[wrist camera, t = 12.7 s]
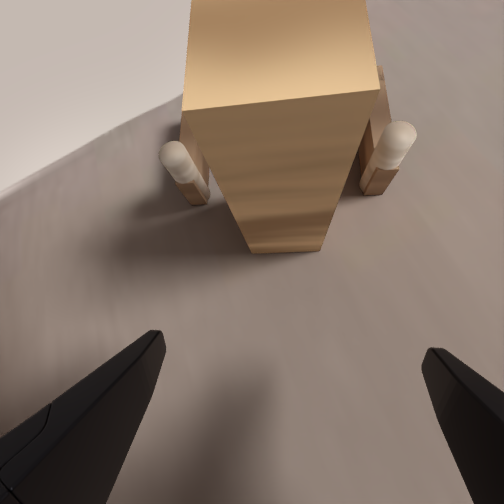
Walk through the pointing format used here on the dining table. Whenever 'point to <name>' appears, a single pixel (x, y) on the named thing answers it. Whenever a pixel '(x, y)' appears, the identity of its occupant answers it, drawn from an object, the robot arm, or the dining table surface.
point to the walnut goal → (370, 152)
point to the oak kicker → (280, 109)
